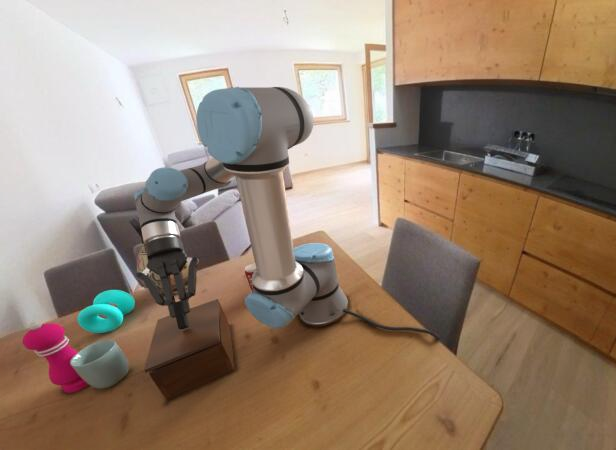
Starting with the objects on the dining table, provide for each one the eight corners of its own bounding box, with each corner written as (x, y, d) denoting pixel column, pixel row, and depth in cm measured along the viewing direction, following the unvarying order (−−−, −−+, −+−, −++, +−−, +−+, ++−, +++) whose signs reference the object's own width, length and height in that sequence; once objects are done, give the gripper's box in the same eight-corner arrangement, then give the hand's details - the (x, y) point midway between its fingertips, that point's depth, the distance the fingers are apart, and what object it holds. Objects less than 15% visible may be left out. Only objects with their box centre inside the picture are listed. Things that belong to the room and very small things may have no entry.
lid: (220, 342, 65) (219, 339, 65) (145, 373, 59) (143, 370, 59) (219, 301, 80) (217, 298, 80) (158, 322, 74) (157, 319, 73)
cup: (108, 396, 66) (86, 369, 62) (84, 391, 68) (60, 363, 63) (141, 367, 73) (123, 340, 69) (119, 363, 75) (99, 336, 70)
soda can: (272, 292, 98) (264, 264, 93) (259, 301, 94) (249, 272, 89) (264, 288, 101) (254, 260, 96) (250, 296, 97) (240, 268, 92)
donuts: (142, 308, 94) (128, 284, 90) (126, 329, 85) (109, 305, 81) (106, 315, 92) (90, 292, 87) (86, 338, 83) (67, 313, 78)
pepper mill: (65, 400, 66) (9, 341, 57) (58, 385, 69) (4, 327, 61) (105, 376, 71) (60, 318, 62) (97, 363, 75) (53, 307, 66)
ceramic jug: (148, 287, 104) (107, 215, 91) (196, 270, 113) (165, 202, 100) (151, 310, 93) (105, 231, 79) (204, 289, 102) (171, 215, 89)
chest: (234, 370, 71) (221, 343, 67) (167, 401, 64) (148, 373, 60) (230, 326, 85) (219, 301, 80) (174, 348, 78) (159, 322, 74)
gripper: (196, 239, 80) (217, 317, 74) (138, 253, 74) (156, 340, 68) (188, 229, 73) (211, 315, 68) (124, 244, 67) (143, 339, 62)
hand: (183, 327), depth 68 cm, fingers closed
